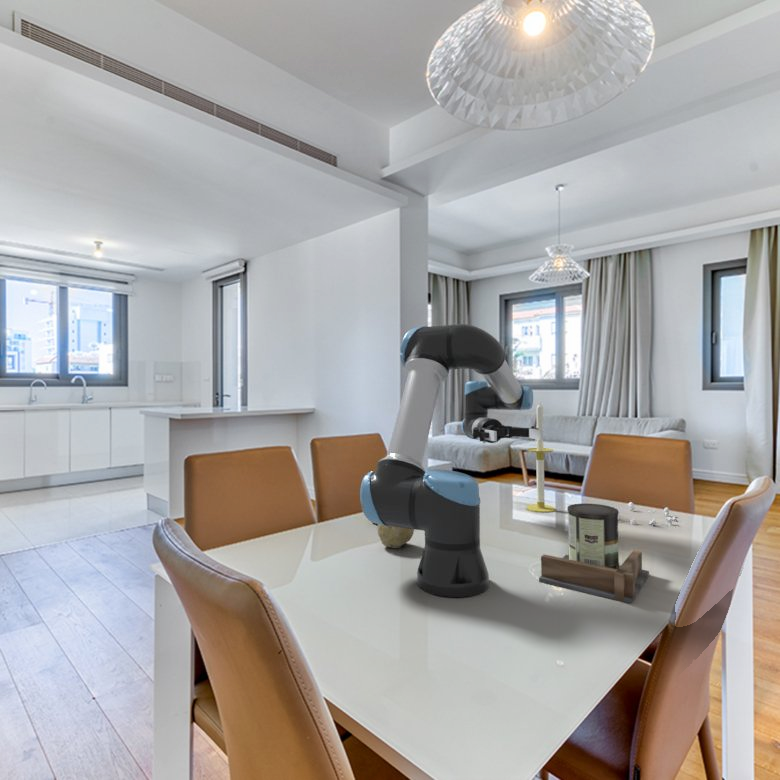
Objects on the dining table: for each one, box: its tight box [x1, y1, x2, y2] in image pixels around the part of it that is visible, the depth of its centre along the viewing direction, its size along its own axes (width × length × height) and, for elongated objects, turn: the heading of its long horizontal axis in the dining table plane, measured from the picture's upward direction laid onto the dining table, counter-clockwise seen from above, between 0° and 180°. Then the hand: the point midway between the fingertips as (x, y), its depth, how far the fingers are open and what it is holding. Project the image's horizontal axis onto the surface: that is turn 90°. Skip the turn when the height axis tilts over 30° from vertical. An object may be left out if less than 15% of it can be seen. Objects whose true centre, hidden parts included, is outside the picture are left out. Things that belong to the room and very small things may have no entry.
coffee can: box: [567, 502, 620, 569], centre depth 105 cm, size 10×10×14 cm
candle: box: [525, 399, 557, 514], centre depth 165 cm, size 10×10×38 cm
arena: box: [538, 548, 650, 605], centre depth 105 cm, size 18×18×5 cm
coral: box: [377, 524, 415, 549], centre depth 128 cm, size 10×10×10 cm
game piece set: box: [610, 501, 678, 526], centre depth 152 cm, size 19×20×4 cm
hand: (518, 435), depth 131 cm, fingers open, 13 cm apart
